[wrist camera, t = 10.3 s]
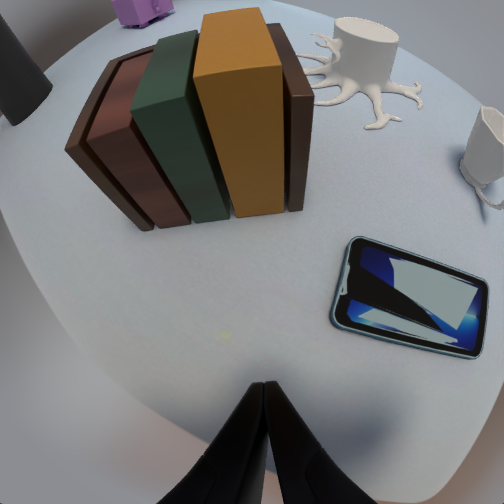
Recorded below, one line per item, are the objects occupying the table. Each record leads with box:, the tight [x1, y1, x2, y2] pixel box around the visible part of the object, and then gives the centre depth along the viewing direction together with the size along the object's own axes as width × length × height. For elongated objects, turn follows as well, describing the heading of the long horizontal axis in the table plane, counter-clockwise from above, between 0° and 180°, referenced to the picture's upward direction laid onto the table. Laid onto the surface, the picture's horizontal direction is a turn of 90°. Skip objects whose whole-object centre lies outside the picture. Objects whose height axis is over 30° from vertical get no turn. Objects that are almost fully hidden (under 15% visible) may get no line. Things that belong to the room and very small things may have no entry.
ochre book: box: [193, 7, 284, 218], centre depth 18 cm, size 10×4×14 cm, turn 5°
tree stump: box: [296, 17, 423, 129], centre depth 25 cm, size 20×19×8 cm
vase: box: [0, 14, 53, 126], centre depth 27 cm, size 14×14×29 cm
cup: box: [459, 106, 504, 210], centre depth 18 cm, size 7×10×8 cm
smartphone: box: [330, 236, 489, 359], centre depth 18 cm, size 7×1×15 cm
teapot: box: [111, 0, 174, 28], centre depth 42 cm, size 20×10×12 cm, turn 49°
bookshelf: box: [64, 23, 315, 231], centre depth 19 cm, size 11×14×13 cm
